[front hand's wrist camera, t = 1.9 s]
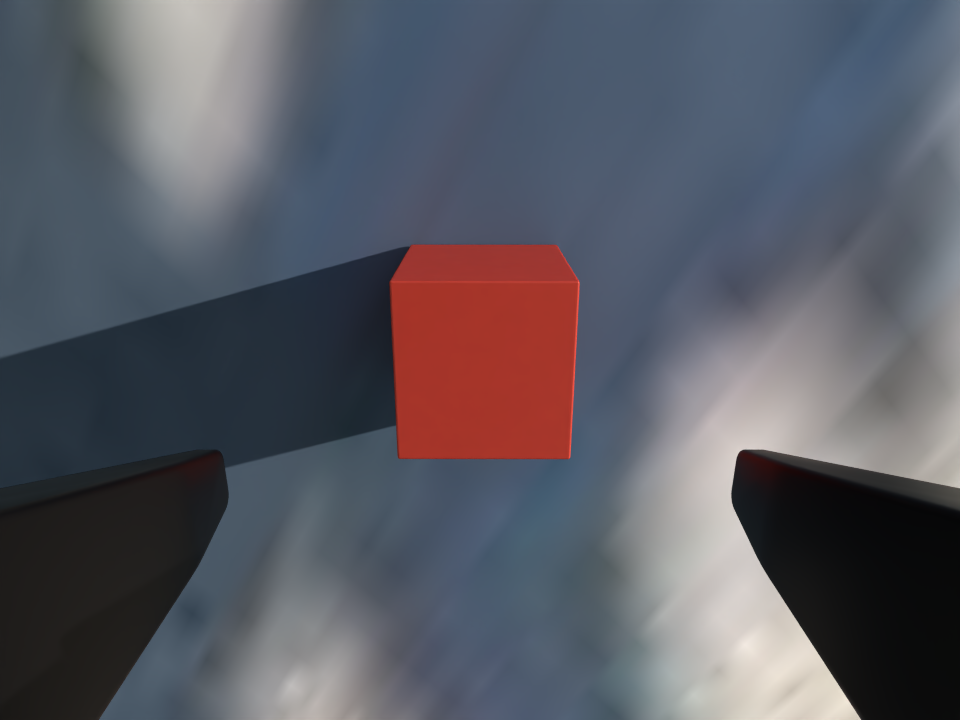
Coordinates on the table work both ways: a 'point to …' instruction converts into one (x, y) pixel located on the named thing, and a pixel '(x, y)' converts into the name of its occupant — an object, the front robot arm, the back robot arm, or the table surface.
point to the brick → (484, 352)
